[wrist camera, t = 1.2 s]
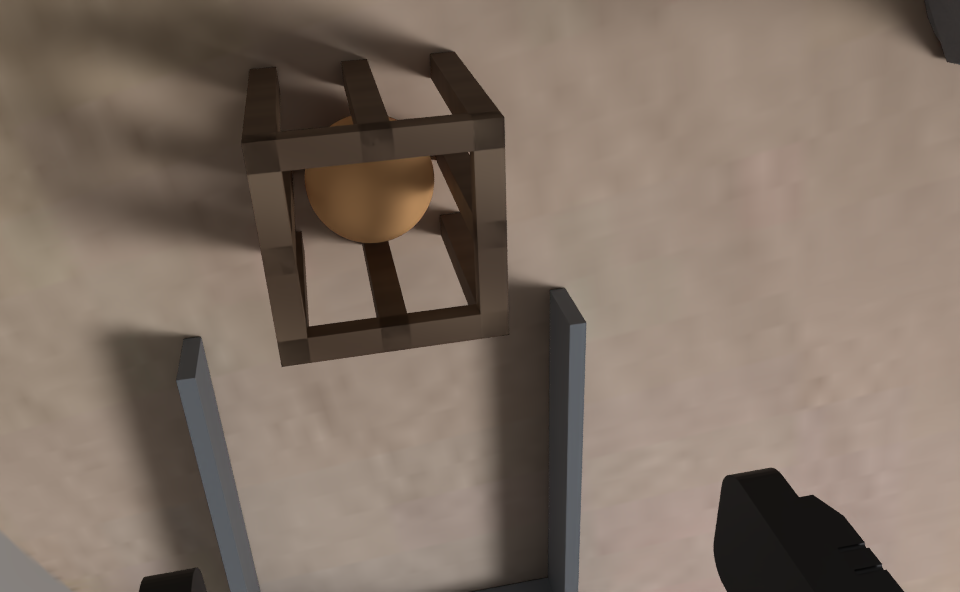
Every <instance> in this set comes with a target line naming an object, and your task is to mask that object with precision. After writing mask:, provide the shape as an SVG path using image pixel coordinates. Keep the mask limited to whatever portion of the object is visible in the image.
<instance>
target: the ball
mask: <svg viewBox="0 0 960 592" xmlns="http://www.w3.org/2000/svg"><path fill="white" fill-rule="evenodd" d="M388 118H389V121H394V120H396V119H393V118H391V117H388ZM343 125H353V121H352V117H351V116H349V117H346V118H343V119H341V120H339V121H337V122H336V123H334V124H332V125H331V126H330V127H333V126H343ZM305 188H306V192H307V196H308V199H309V202H310V204H311V206H312V208H313V210H314V212H315V213H316V215H317V216H318V217H319V219H320V220H321V221H322V222H323V223H324V224H325V225H326V226H327V227H328V228H329V229H331V230H332V231H333V232H335V233H337V234H338V235H340V236H342V237H344V238H346V239H349V240H352V241H356V242H361V243H379V242H385V241H388V240H392V239H394V238H397V237H399V236H401V235H403V234H404V233H406V232H407V231H409V230H410V229H411V228H413V227H414V226H415V225H416V224H417V223H418V221H419V220H420V219H421V218H422V216H423V215H424V213H425V211H426V210H427V208H428V206H429V203H430V201H431V198H432V194H433V188H434V171H433V165H432V161H431V158H430V156H423V157H414V158H404V159H395V160H385V161H376V162H366V163H357V164H347V165H338V166H328V167H319V168H309V169H305Z"/></svg>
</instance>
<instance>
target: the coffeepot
mask: <svg viewBox="0 0 960 592" xmlns="http://www.w3.org/2000/svg"><path fill="white" fill-rule="evenodd" d="M925 5H926V10H927V15H928V19H929V21H930V24H931V26H932V28H933V30H934V32H935V35H936V37H937V38H938V39H939V40H940V42H941V45H942V48H943V51H944V54H945V58H946V61H947V62H950V63H955V64H960V0H925Z"/></svg>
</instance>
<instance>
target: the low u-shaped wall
mask: <svg viewBox="0 0 960 592" xmlns="http://www.w3.org/2000/svg"><path fill="white" fill-rule="evenodd" d="M585 350H586V321H585V320H584V318H583V316H582V315H581V313H580V312H579V310H578V308H577V307H576V305H575V303H574V302H573V300H572V298H571V297H570V295H569V294H568V292H567V290H566V289H565V288H563V289H555V290H550V358H549V530H548V578H543V579H538V580H533V581H527V582H522V583H517V584H511V585H506V586H501V587H496V588H490V589H485V590H480V591H474V592H578V578H579V546H580V513H581V480H582V448H583V415H584V383H585ZM176 382H177V386H178V390H179V393H180V397H181V401H182V405H183V409H184V413H185V417H186V421H187V424H188V428H189V432H190V436H191V440H192V444H193V448H194V452H195V456H196V459H197V463H198V467H199V471H200V475H201V479H202V483H203V487H204V490H205V494H206V498H207V502H208V506H209V510H210V514H211V518H212V522H213V525H214V529H215V533H216V537H217V541H218V545H219V549H220V553H221V556H222V560H223V564H224V568H225V572H226V576H227V580H228V584H229V588H230V591H231V592H260V587H259V583H258V579H257V575H256V570H255V566H254V562H253V557H252V553H251V549H250V544H249V540H248V536H247V532H246V527H245V523H244V519H243V514H242V510H241V506H240V501H239V497H238V493H237V489H236V484H235V480H234V476H233V471H232V467H231V463H230V459H229V454H228V450H227V446H226V441H225V437H224V433H223V428H222V424H221V420H220V416H219V411H218V407H217V403H216V398H215V394H214V390H213V385H212V381H211V377H210V373H209V368H208V364H207V360H206V355H205V351H204V347H203V342H202V338H201V337H196V338H189V339H184V340H183V346H182V351H181V357H180V362H179V368H178V373H177V379H176Z"/></svg>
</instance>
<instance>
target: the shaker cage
mask: <svg viewBox="0 0 960 592" xmlns="http://www.w3.org/2000/svg"><path fill="white" fill-rule="evenodd" d="M341 64H342V73H343V81H344V88H345V92H346V96H347V100H348V105H349V109H350V113H351V117H352V121H353V125H343V126H333V127H323V128H312V129H302V130H292V131H282V132H280V89H279V83H278V76H277V70H276V67H271V68H259V69H250V71H249V79H248V88H247V97H246V106H245V115H244V124H243V133H242V142H241V144H242V150H243V156H244V161H245V167H246V172H247V178H248V183H249V189H250V194H251V200H252V205H253V211H254V216H255V222H256V227H257V233H258V238H259V244H260V249H261V255H262V260H263V266H264V271H265V277H266V282H267V288H268V293H269V299H270V304H271V310H272V316H273V321H274V327H275V332H276V338H277V343H278V349H279V354H280V360H281V365H282V367H284V366H291V365H298V364H305V363H312V362H320V361H327V360H334V359H341V358H348V357H355V356H362V355H369V354H376V353H383V352H390V351H397V350H405V349H412V348H419V347H426V346H433V345H440V344H447V343H454V342H461V341H468V340H475V339H482V338H490V337H497V336H504V335H509V311H508V265H507V220H506V174H505V129H504V116H503V115H502V114H501V112H500V111H499V110H498V108H497V107H496V106H495V104H494V103H493V102H492V100H491V99H490V98H489V96H488V95H487V94H486V93H485V91H484V90H483V89H482V87H481V86H480V85H479V83H478V82H477V81H476V79H475V78H474V77H473V75H472V74H471V73H470V71H469V70H468V69H467V67H466V66H465V65H464V64H463V62H462V61H461V60H460V58H459V57H458V56H457V54H456V53H455V52H445V53H433V54H430V66H431V79H432V81H433V83H434V84H435V86H436V88H437V89H438V91H439V93H440V94H441V96H442V98H443V99H444V101H445V103H446V105H447V106H448V108H449V110H450V111H451V113H452V115H445V116H435V117H425V118H414V119H404V120H394V121H389V118H388V115H387V112H386V110H385V107H384V104H383V102H382V99H381V96H380V94H379V91H378V88H377V85H376V83H375V80H374V77H373V75H372V72H371V69H370V67H369V64H368V61H367V59H364V60H352V61H341ZM468 152H470V155H469V153H468ZM433 155H436V160H437V163H438V165H439V167H440V170H441V172H442V174H443V176H444V178H445V180H446V182H447V185H448V187H449V189H450V191H451V193H452V195H453V198H454V200H455V202H456V204H457V206H458V208H459V211H460V213H455V214H446V215H440V222H441V236H442V239H443V241H444V244H445V246H446V249H447V251H448V254H449V257H450V259H451V262H452V264H453V267H454V269H455V272H456V274H457V277H458V280H459V282H460V285H461V287H462V290H463V292H464V295H465V297H466V300H467V303H468V305H466V306H458V307H451V308H444V309H436V310H429V311H421V312H414V313H407V311H406V308H405V304H404V300H403V296H402V292H401V288H400V285H399V281H398V277H397V273H396V269H395V266H394V262H393V258H392V254H391V250H390V246H389V243H388V241H385V242H379V243H362V246H363V251H364V256H365V261H366V266H367V271H368V276H369V281H370V286H371V291H372V296H373V302H374V307H375V312H376V317H377V318H369V319H362V320H354V321H347V322H339V323H332V324H325V325H317V326H310V327H309V318H308V301H307V285H306V269H305V252H304V246H303V239H302V233H301V232H295V215H294V192H293V174H292V170H300V169H309V168H319V167H328V166H338V165H347V164H357V163H366V162H376V161H385V160H395V159H404V158H414V157H423V156H433Z"/></svg>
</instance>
